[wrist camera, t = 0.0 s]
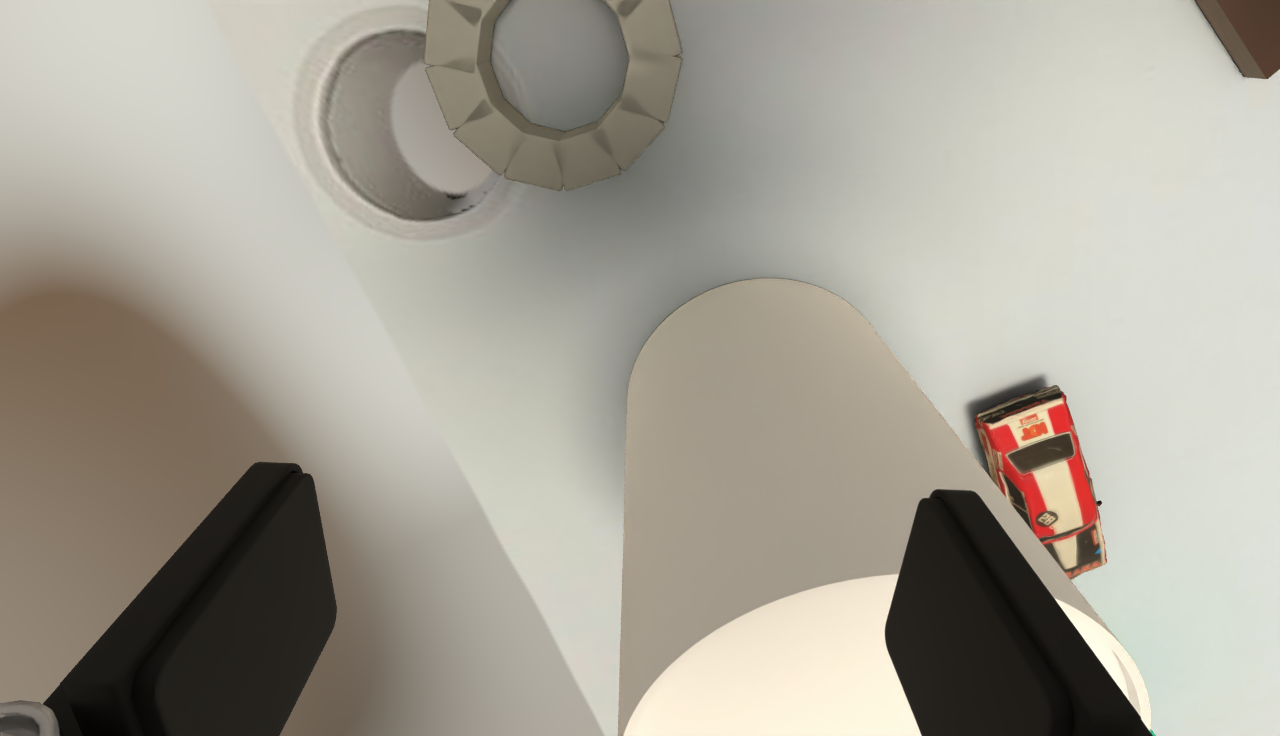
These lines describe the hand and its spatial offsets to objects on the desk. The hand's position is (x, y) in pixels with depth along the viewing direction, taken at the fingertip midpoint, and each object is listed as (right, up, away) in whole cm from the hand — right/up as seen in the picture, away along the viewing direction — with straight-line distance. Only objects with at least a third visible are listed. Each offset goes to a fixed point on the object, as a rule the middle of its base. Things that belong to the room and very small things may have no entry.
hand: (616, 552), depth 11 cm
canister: (+7, +1, +25) cm, 26 cm away
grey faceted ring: (-3, +16, +18) cm, 24 cm away
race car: (+22, -3, +27) cm, 35 cm away
